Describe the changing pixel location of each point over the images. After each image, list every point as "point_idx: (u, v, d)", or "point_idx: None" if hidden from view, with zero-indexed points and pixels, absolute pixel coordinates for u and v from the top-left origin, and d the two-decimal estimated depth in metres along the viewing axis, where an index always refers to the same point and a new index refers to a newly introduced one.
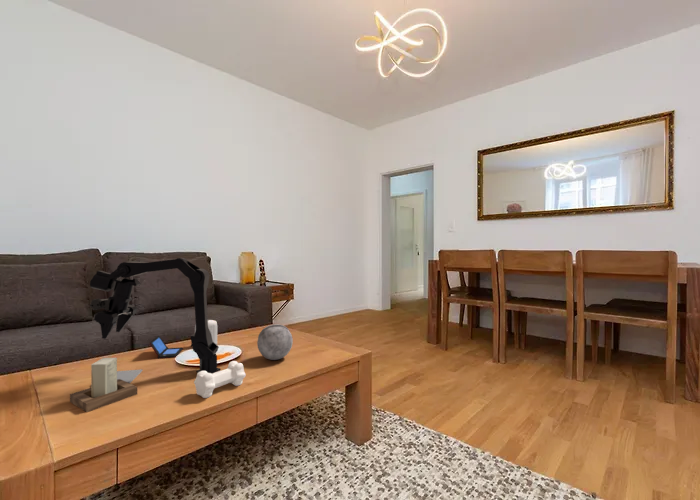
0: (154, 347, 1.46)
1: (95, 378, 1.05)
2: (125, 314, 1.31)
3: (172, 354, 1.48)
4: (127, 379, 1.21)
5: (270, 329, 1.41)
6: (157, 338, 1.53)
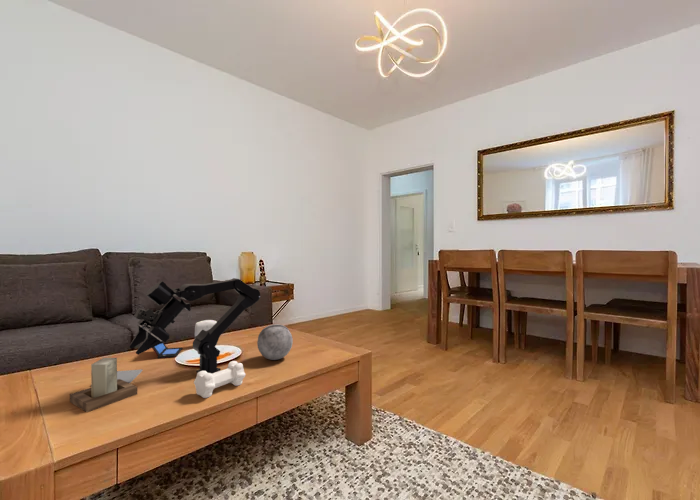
0: (154, 347, 1.46)
1: (95, 378, 1.05)
2: (147, 331, 1.21)
3: (172, 354, 1.48)
4: (127, 379, 1.21)
5: (270, 329, 1.41)
6: None
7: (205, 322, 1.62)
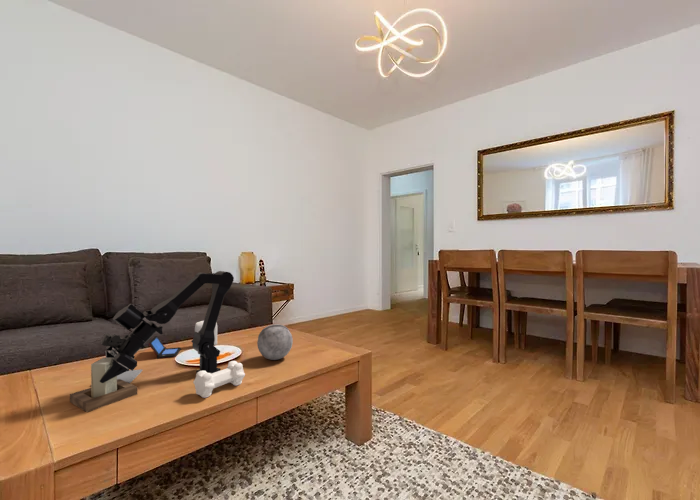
0: (153, 347, 1.45)
1: (95, 378, 1.05)
2: None
3: (171, 354, 1.48)
4: (127, 379, 1.21)
5: (270, 329, 1.41)
6: (155, 338, 1.52)
7: None
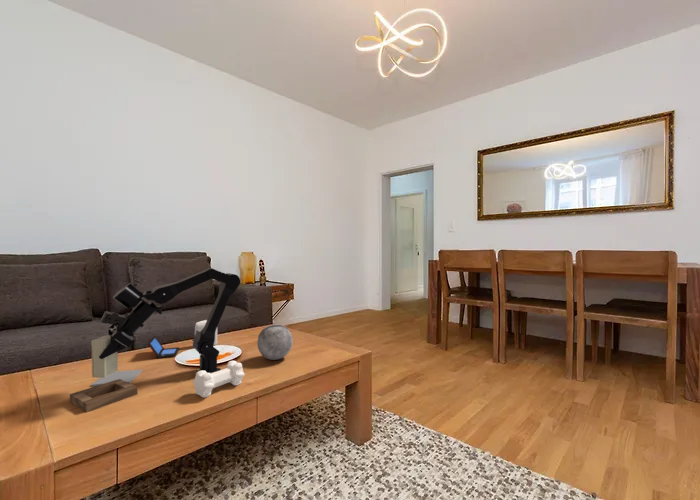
0: (152, 347, 1.45)
1: (95, 354, 1.07)
2: None
3: (171, 354, 1.48)
4: (127, 379, 1.21)
5: (270, 329, 1.41)
6: (153, 339, 1.52)
7: (205, 322, 1.62)
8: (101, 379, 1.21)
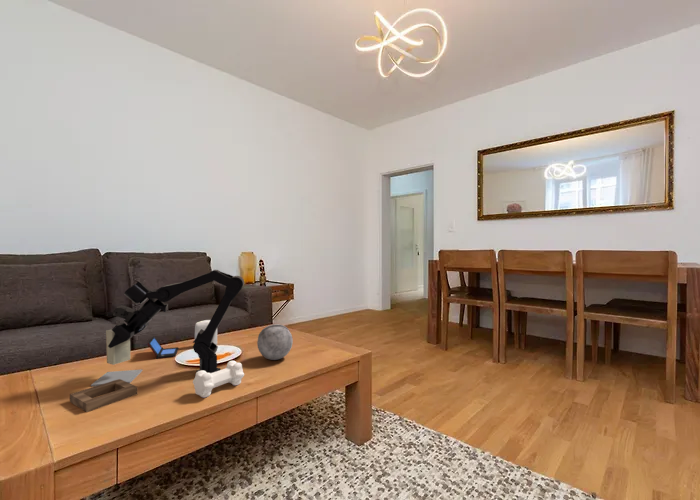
0: (152, 347, 1.45)
1: (108, 343, 1.21)
2: None
3: (170, 354, 1.48)
4: (127, 379, 1.21)
5: (270, 329, 1.41)
6: (153, 339, 1.52)
7: (205, 322, 1.62)
8: (101, 379, 1.21)
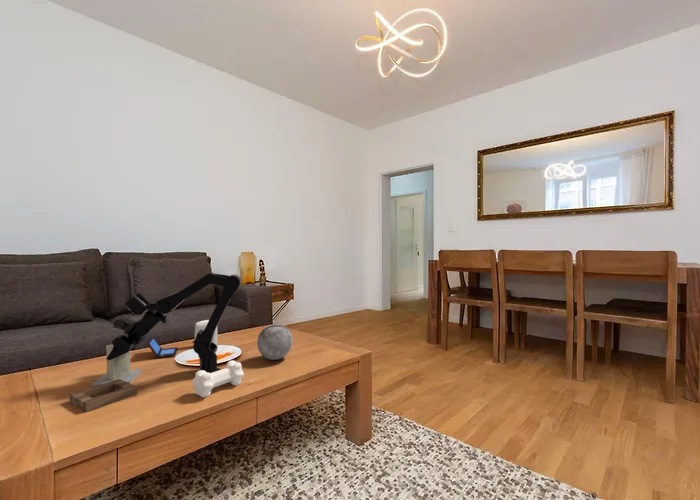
0: (152, 348, 1.45)
1: None
2: None
3: (170, 354, 1.48)
4: (127, 379, 1.21)
5: (270, 329, 1.41)
6: (152, 339, 1.52)
7: (205, 322, 1.62)
8: (101, 379, 1.21)
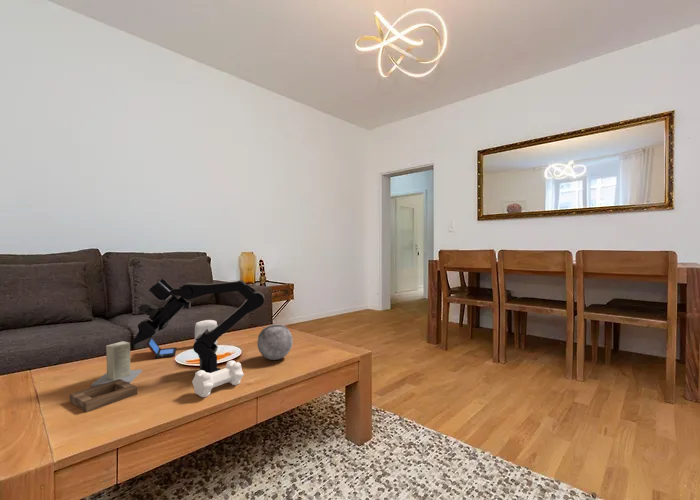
0: (151, 348, 1.45)
1: (108, 358, 1.21)
2: None
3: (170, 354, 1.48)
4: (127, 379, 1.21)
5: (270, 329, 1.41)
6: (150, 339, 1.51)
7: (205, 322, 1.62)
8: (101, 379, 1.21)
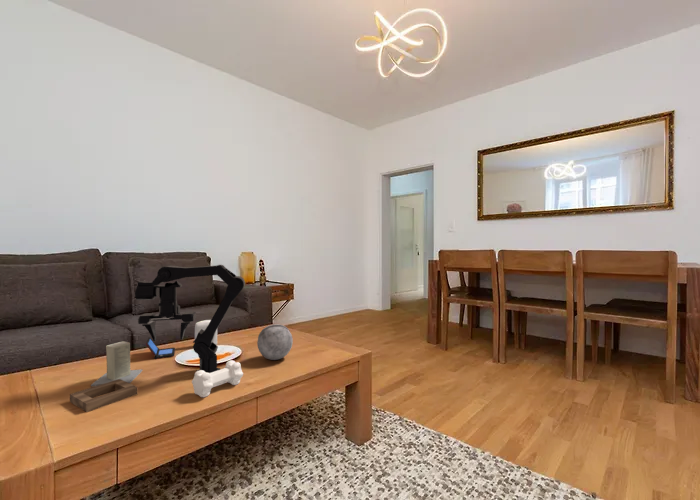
0: (150, 348, 1.45)
1: (108, 358, 1.21)
2: None
3: (169, 354, 1.48)
4: (127, 379, 1.21)
5: (270, 329, 1.41)
6: (149, 339, 1.51)
7: (205, 322, 1.62)
8: (101, 379, 1.21)
